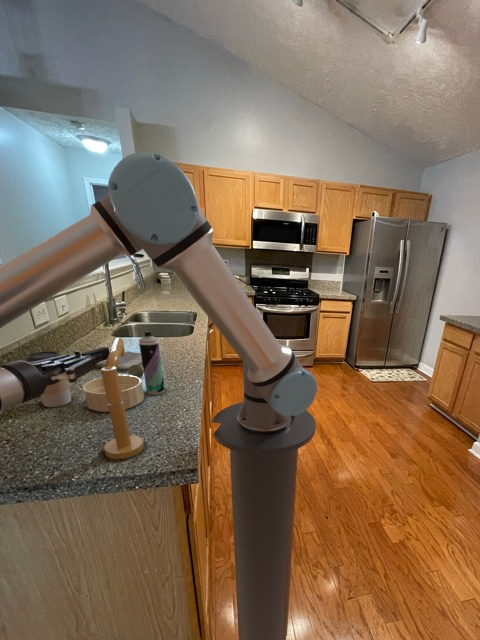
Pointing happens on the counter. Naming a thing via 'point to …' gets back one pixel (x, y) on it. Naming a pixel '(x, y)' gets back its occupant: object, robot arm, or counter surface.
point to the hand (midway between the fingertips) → (106, 352)
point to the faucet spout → (113, 372)
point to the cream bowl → (128, 387)
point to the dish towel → (125, 361)
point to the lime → (136, 371)
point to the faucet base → (122, 435)
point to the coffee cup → (56, 392)
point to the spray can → (151, 364)
